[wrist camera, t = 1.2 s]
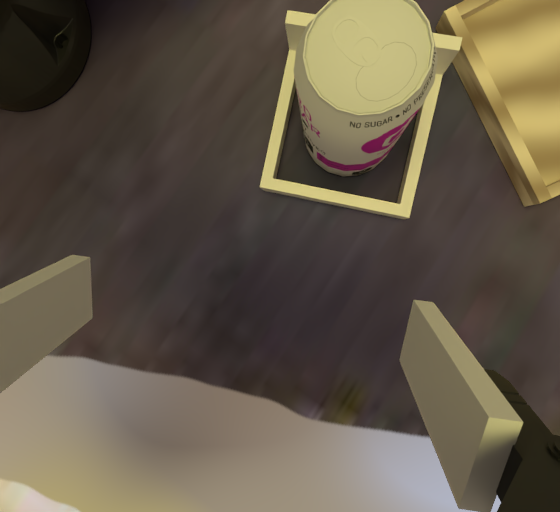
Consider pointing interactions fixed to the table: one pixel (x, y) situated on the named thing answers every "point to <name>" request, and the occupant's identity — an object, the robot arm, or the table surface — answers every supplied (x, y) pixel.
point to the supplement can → (362, 80)
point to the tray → (514, 84)
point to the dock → (446, 53)
